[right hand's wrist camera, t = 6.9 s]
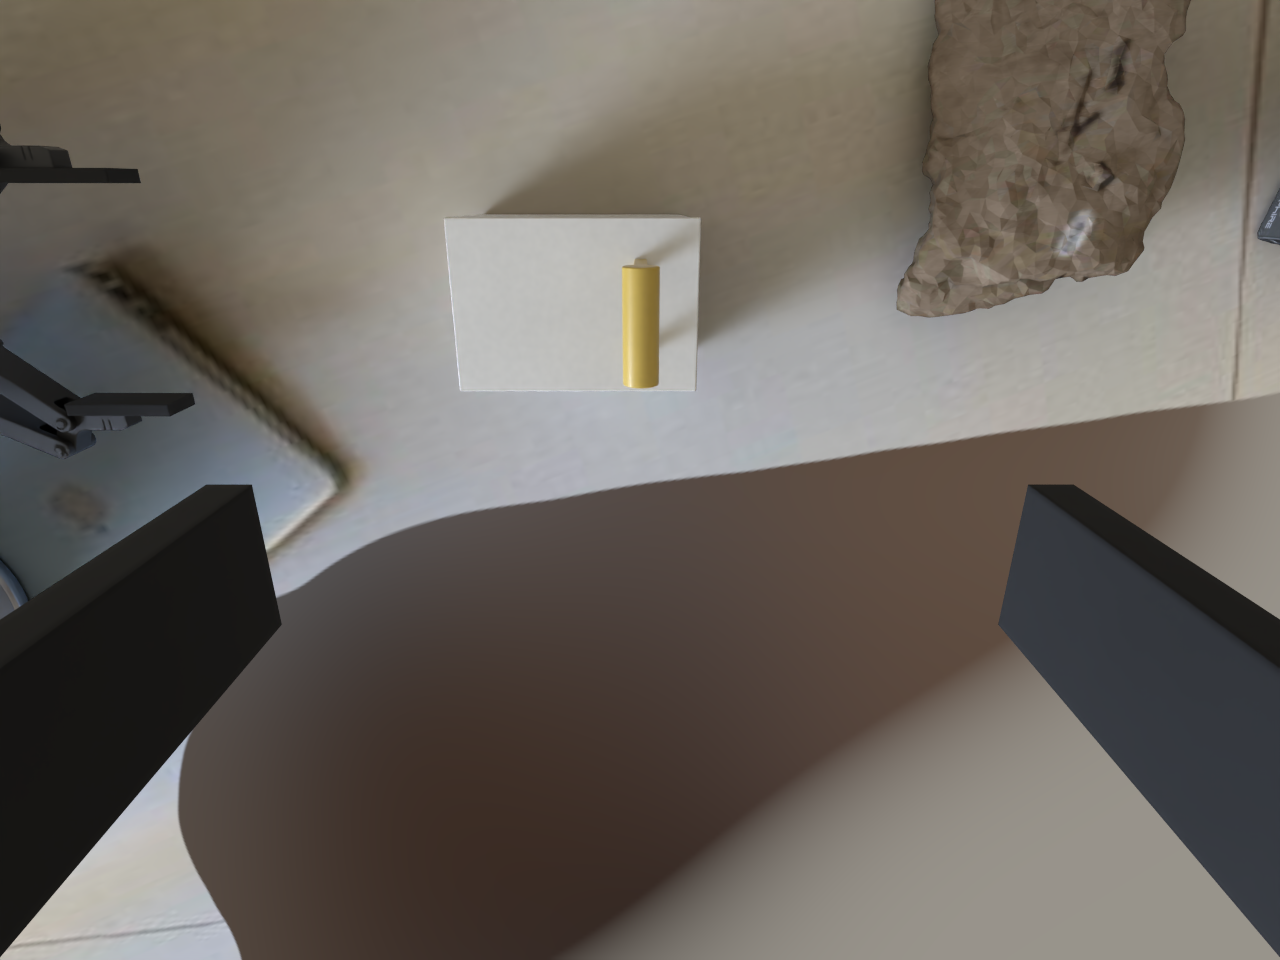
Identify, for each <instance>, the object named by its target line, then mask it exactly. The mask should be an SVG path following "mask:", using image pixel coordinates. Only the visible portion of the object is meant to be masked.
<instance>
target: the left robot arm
mask: <svg viewBox="0 0 1280 960" xmlns="http://www.w3.org/2000/svg"><path fill="white" fill-rule="evenodd" d="M0 131H1V126H0ZM8 183H141V182H140V177H139V173H138V169H118V168H72V165H71V161H70V158H69V154H68V151H67V150H64V149H62V148H59V147H50V146H12V145H10V144H8V143H7V142H6V141H5V140H4V139H3V138H2V136H1V135H0V193H1V192H2V191H3V190H4V188H5V187H6V186H7V184H8ZM194 404H195V401H194V397H193V393H94V394H91V395H88V396H86V397H83V398H80V397H78V396H77V395H75V394H74V393H72V392H71V391H69V390H68V389H66V388H65V387H63V386H62V385H60V384H59V383H57V382H56V381H54V380H53V379H51V378H49V377H48V376H46V375H45V374H43V373H42V372H40V371H39V370H37V369H36V368H34V367H33V366H31V365H30V364H28V363H27V362H25V361H24V360H22V359H21V358H19V357H18V356H16V355H15V354H13V353H12V352H10V351H9V350H7V349H6V348H4V347H3V341H2V340H1V339H0V434H1V435H4V436H6V437H9V438H11V439H14V440H16V441H18V442H21V443H23V444H26V445H28V446H31V447H33V448H36V449H38V450H40V451H43V452H45V453H48V454H50V455H53V456H55V457H57V458H61V459H65V458H68V457H70V456H72V455H74V454H76V453H78V452H80V451H83V450H85V449H87V448H89V447H91V446H93V445H94V444H95V443H96V438H95V435H94V434H93V433H92V430H123V429H125V428H128V427H130V426H132V425H134V424H136V423H138V422H141V421H142V419H141V416H172V415H174V414H176V413H178V412H180V411H182V410H184V409H186V408H188V407H190V406H192V405H194ZM26 602H28V599H27V596H26V594H25V592H24V590H23V589H22V587H21V585H20V583H19V582H18V580H17V579H16V578H15V576H14V575H13V574H12V572H11V571H10V570H9V569H8V568H7V567H6V566H5V565H4V563H3V562H2V561H1V560H0V619H2V618H3V617H5V616H6V615H8V614H9V613H11V612H13V611H14V610H16V609H17V608H19V607H20V606H22V605H23V604H25V603H26Z"/></svg>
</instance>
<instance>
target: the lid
mask: <svg viewBox="0 0 1280 960" xmlns="http://www.w3.org/2000/svg"><path fill="white" fill-rule="evenodd" d="M444 226H445V236H446V247H447V257H448V268H449V279H450V289H451V300H452V311H453V321H454V332H455V342H456V353H457V364H458V374H459V385H460V391H696V377H697V343H698V309H699V274H700V240H701V218H700V217H445V218H444Z"/></svg>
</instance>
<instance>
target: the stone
mask: <svg viewBox="0 0 1280 960" xmlns="http://www.w3.org/2000/svg"><path fill="white" fill-rule="evenodd" d="M1189 4H1190V0H935V21H936V26H937V30H938V37H937V39H936V40H935V42H934V44H933V48H932V53H931V57H930V60H929V64H928V79H929V83H930V86H931V110H932V113H933V121H932V123H931V125H930V141H929V143H928V147H927V151H926V154H925V157H924V159H923V162H922V163H923V168H922V172H923V174H924V175H925V176H927V177H929V178H930V179H931V181H932V183H933V186H932V188H931V191H930V199H931V202H930V206H929V211H930V213H931V218H930V222H929V229H928V230H927V232H926V233H925V234H924V236H923V237H921V238H920V239H919V241H918V244H917V247H916V249H915V252H914V259H913V262H912V264H911V265H910V266H909V268H908V269H907V271H906V272H905V274H904V278H903V279H901V281H900V283H899V285H898V289H897V295H898V298H897V310H899V311H901V312H903V313H906V314H908V315H910V316H923V317H939V316H947V315H954V314H961V313H966V312H969V311H972V310H975V309H977V308H987V309H989V308H991V307H993V306H995V305H1000V304H1005V303H1007V302H1009V301H1011V300H1012V299H1014V298H1019V297H1023V296H1027V295H1031V294H1041V293H1043V292H1045V291H1046V290H1048V289H1049V287H1050V286H1051V284H1052V283H1053V282H1054V280H1055V279H1058V278H1062V277H1072V278H1073V279H1074V280H1075V281H1076V282H1082V281H1084V280H1086V279H1088V278H1091V277H1097V276H1104V275H1112V276H1116V275H1119V274H1121V273H1124V272H1127V271H1128V270H1129V269H1130V268H1131V266H1132V265H1133V263H1134V262H1135V261H1136V259H1137V258H1138V257H1139V256H1140V254H1141V253H1142V252H1143V250H1144V245H1143V236H1144V231H1145V229H1146V228H1147V226H1148V224H1149V222H1150V221H1151V219H1152V217H1153V216H1154V215H1155V214H1156V213H1157V212H1158V211H1159V210H1160V209H1161V205H1162V201H1163V200H1164V198H1165V196H1166V195H1167V193H1168V191H1169V190H1170V188H1171V185H1172V183H1173V180H1174V178H1175V175H1176V172H1177V169H1178V165H1179V162H1180V158H1181V154H1182V150H1183V146H1184V141H1185V136H1184V126H1185V117H1184V113H1183V110H1182V108H1181V106H1180V104H1179V103H1177V102H1176V101H1174V99H1173V98H1172V96H1171V95H1170V92H1169V90H1168V87H1167V81H1168V78H1167V72H1166V69H1165V65H1164V54H1165V52H1166V51H1167V49H1168V48H1169V46H1170V45H1171V44H1172V43H1173V42H1174V41H1175V40H1177V39H1178V38H1180V37H1181V36H1183V34H1184V33H1185V31H1186V13H1187V9H1188V7H1189Z"/></svg>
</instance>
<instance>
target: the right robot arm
mask: <svg viewBox="0 0 1280 960" xmlns="http://www.w3.org/2000/svg"><path fill="white" fill-rule="evenodd" d="M998 625H999V626H1000V627H1001V628H1002V629H1003V631H1004V632H1005V633H1006V634H1007V635H1008V637H1009V638H1010V639H1011V640H1012V641H1013V642H1014V644H1015V645H1016V646H1017V647H1018V648H1019V649H1020V651H1021V652H1022V653H1023V654H1024V655H1025V657H1026V658H1027V659H1028V660H1029V661H1030V662H1031V664H1032V665H1033V666H1034V667H1035V668H1036V670H1037V671H1038V672H1039V673H1040V674H1041V675H1042V677H1043V678H1044V679H1045V680H1046V681H1047V683H1048V684H1049V685H1050V686H1051V687H1052V689H1053V690H1054V691H1055V692H1056V693H1057V694H1058V696H1059V697H1060V698H1061V699H1062V700H1063V701H1064V703H1065V704H1066V705H1067V706H1068V707H1069V709H1070V710H1071V711H1072V712H1073V713H1074V714H1075V716H1076V717H1077V718H1078V719H1079V720H1080V722H1081V723H1082V724H1083V725H1084V726H1085V727H1086V729H1087V730H1088V731H1089V732H1090V733H1091V734H1092V736H1093V737H1094V738H1095V739H1096V740H1097V742H1098V743H1099V744H1100V745H1101V746H1102V748H1103V749H1104V750H1105V751H1106V752H1107V753H1108V755H1109V756H1110V757H1111V758H1112V759H1113V760H1114V762H1115V763H1116V764H1117V765H1118V766H1119V768H1120V769H1121V770H1122V771H1123V772H1124V774H1125V775H1126V776H1127V777H1128V778H1129V779H1130V781H1131V782H1132V783H1133V784H1134V785H1135V787H1136V788H1137V789H1138V790H1139V791H1140V792H1141V794H1142V795H1143V796H1144V797H1145V798H1146V800H1147V801H1148V802H1149V803H1150V804H1151V805H1152V807H1153V808H1154V809H1155V810H1156V811H1157V813H1158V814H1159V815H1160V816H1161V817H1162V818H1163V820H1164V821H1165V822H1166V823H1167V824H1168V826H1169V827H1170V828H1171V829H1172V830H1173V831H1174V833H1175V834H1176V835H1177V836H1178V837H1179V839H1180V840H1181V841H1182V842H1183V843H1184V844H1185V846H1186V847H1187V848H1188V849H1189V850H1190V851H1191V853H1192V854H1193V855H1194V856H1195V857H1196V859H1197V860H1198V861H1199V862H1200V863H1201V864H1202V866H1203V867H1204V868H1205V869H1206V870H1207V872H1208V873H1209V874H1210V875H1211V876H1212V878H1213V879H1214V880H1215V881H1216V882H1217V883H1218V885H1219V886H1220V887H1221V888H1222V889H1223V891H1224V892H1225V893H1226V894H1227V895H1228V896H1229V898H1230V899H1231V900H1232V901H1233V902H1234V903H1235V905H1236V906H1237V907H1238V908H1239V909H1240V911H1241V912H1242V913H1243V914H1244V915H1245V916H1246V918H1247V919H1248V920H1249V921H1250V922H1251V924H1252V925H1253V926H1254V927H1255V928H1256V929H1257V931H1258V932H1259V933H1260V934H1261V935H1262V937H1263V938H1264V939H1265V940H1266V941H1267V942H1268V944H1269V945H1270V946H1271V947H1272V948H1273V950H1274V951H1275V952H1276V953H1277V954H1278V955H1279V957H1280V619H1278V618H1277V617H1275V616H1274V615H1272V614H1271V613H1269V612H1267V611H1266V610H1264V609H1263V608H1261V607H1260V606H1258V605H1257V604H1255V603H1254V602H1252V601H1251V600H1249V599H1248V598H1246V597H1244V596H1243V595H1241V594H1240V593H1238V592H1237V591H1235V590H1234V589H1232V588H1231V587H1229V586H1228V585H1226V584H1225V583H1223V582H1222V581H1220V580H1218V579H1217V578H1215V577H1214V576H1212V575H1211V574H1209V573H1208V572H1206V571H1205V570H1203V569H1202V568H1200V567H1199V566H1197V565H1196V564H1194V563H1193V562H1191V561H1189V560H1188V559H1186V558H1185V557H1183V556H1182V555H1180V554H1179V553H1177V552H1176V551H1174V550H1173V549H1171V548H1170V547H1168V546H1167V545H1165V544H1163V543H1162V542H1160V541H1159V540H1157V539H1156V538H1154V537H1153V536H1151V535H1150V534H1148V533H1147V532H1145V531H1144V530H1142V529H1141V528H1139V527H1137V526H1136V525H1134V524H1133V523H1131V522H1130V521H1128V520H1127V519H1125V518H1124V517H1122V516H1121V515H1119V514H1118V513H1116V512H1115V511H1113V510H1111V509H1110V508H1108V507H1107V506H1105V505H1104V504H1102V503H1101V502H1099V501H1098V500H1096V499H1095V498H1093V497H1092V496H1090V495H1089V494H1087V493H1085V492H1084V491H1082V490H1081V489H1079V488H1078V487H1076V486H1075V485H1028V488H1027V493H1026V498H1025V502H1024V507H1023V512H1022V516H1021V521H1020V526H1019V530H1018V535H1017V540H1016V544H1015V549H1014V554H1013V558H1012V563H1011V568H1010V572H1009V577H1008V582H1007V586H1006V591H1005V596H1004V601H1003V605H1002V610H1001V615H1000V619H999V624H998ZM280 626H281V619H280V614H279V610H278V605H277V601H276V596H275V591H274V586H273V582H272V577H271V572H270V568H269V563H268V558H267V554H266V549H265V544H264V540H263V535H262V530H261V526H260V521H259V516H258V511H257V507H256V502H255V497H254V493H253V488H252V485H205V486H204V487H202V488H201V489H199V490H198V491H196V492H195V493H193V494H191V495H190V496H188V497H187V498H185V499H184V500H182V501H181V502H179V503H178V504H176V505H175V506H173V507H172V508H170V509H169V510H167V511H165V512H164V513H162V514H161V515H159V516H158V517H156V518H155V519H153V520H152V521H150V522H149V523H147V524H146V525H144V526H143V527H141V528H139V529H138V530H136V531H135V532H133V533H132V534H130V535H129V536H127V537H126V538H124V539H123V540H121V541H120V542H118V543H117V544H115V545H113V546H112V547H110V548H109V549H107V550H106V551H104V552H103V553H101V554H100V555H98V556H97V557H95V558H94V559H92V560H91V561H89V562H87V563H86V564H84V565H83V566H81V567H80V568H78V569H77V570H75V571H74V572H72V573H71V574H69V575H68V576H66V577H65V578H63V579H61V580H60V581H58V582H57V583H55V584H54V585H52V586H51V587H49V588H48V589H46V590H45V591H43V592H42V593H40V594H39V595H37V596H35V597H34V598H32V599H31V600H29V601H28V602H26V603H25V604H23V605H22V606H20V607H19V608H17V609H16V610H14V611H13V612H11V613H9V614H8V615H6V616H5V617H3V618H2V619H0V957H1V955H2V954H3V953H4V952H5V951H6V950H7V948H8V947H9V946H10V945H11V944H12V942H13V941H14V940H15V939H16V938H17V937H18V935H19V934H20V933H21V932H22V931H23V929H24V928H25V927H26V926H27V925H28V924H29V922H30V921H31V920H32V919H33V918H34V916H35V915H36V914H37V913H38V912H39V911H40V909H41V908H42V907H43V906H44V905H45V904H46V902H47V901H48V900H49V899H50V898H51V896H52V895H53V894H54V893H55V892H56V891H57V889H58V888H59V887H60V886H61V885H62V883H63V882H64V881H65V880H66V879H67V878H68V876H69V875H70V874H71V873H72V872H73V870H74V869H75V868H76V867H77V866H78V865H79V863H80V862H81V861H82V860H83V859H84V857H85V856H86V855H87V854H88V853H89V852H90V850H91V849H92V848H93V847H94V846H95V844H96V843H97V842H98V841H99V840H100V839H101V837H102V836H103V835H104V834H105V833H106V831H107V830H108V829H109V828H110V827H111V826H112V824H113V823H114V822H115V821H116V820H117V818H118V817H119V816H120V815H121V814H122V813H123V811H124V810H125V809H126V808H127V807H128V805H129V804H130V803H131V802H132V801H133V800H134V798H135V797H136V796H137V795H138V794H139V792H140V791H141V790H142V789H143V788H144V787H145V785H146V784H147V783H148V782H149V781H150V779H151V778H152V777H153V776H154V775H155V774H156V772H157V771H158V770H159V769H160V768H161V766H162V765H163V764H164V763H165V762H166V761H167V759H168V758H169V757H170V756H171V755H172V753H173V752H174V751H175V750H176V749H177V748H178V746H179V745H180V744H181V743H182V742H183V740H184V739H185V738H186V737H187V736H188V735H189V733H190V732H191V731H192V730H193V729H194V727H195V726H196V725H197V724H198V723H199V722H200V720H201V719H202V718H203V717H204V716H205V714H206V713H207V712H208V711H209V710H210V709H211V707H212V706H213V705H214V704H215V703H216V701H217V700H218V699H219V698H220V697H221V696H222V694H223V693H224V692H225V691H226V690H227V688H228V687H229V686H230V685H231V684H232V683H233V681H234V680H235V679H236V678H237V677H238V676H239V674H240V673H241V672H242V671H243V670H244V668H245V667H246V666H247V665H248V664H249V663H250V661H251V660H252V659H253V658H254V657H255V655H256V654H257V653H258V652H259V651H260V649H261V648H262V647H263V646H264V645H265V644H266V642H267V641H268V640H269V639H270V638H271V637H272V635H273V634H274V633H275V632H276V631H277V629H278V628H279V627H280Z"/></svg>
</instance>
